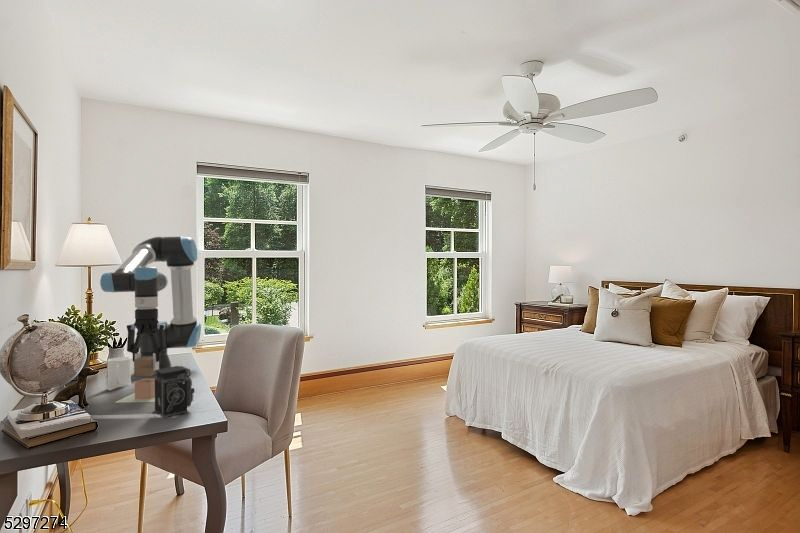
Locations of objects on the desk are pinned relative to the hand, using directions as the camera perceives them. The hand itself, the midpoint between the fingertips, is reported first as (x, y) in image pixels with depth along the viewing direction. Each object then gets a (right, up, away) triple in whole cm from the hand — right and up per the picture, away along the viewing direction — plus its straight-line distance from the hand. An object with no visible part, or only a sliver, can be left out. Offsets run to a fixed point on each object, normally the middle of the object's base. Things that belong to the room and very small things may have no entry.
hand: (147, 370), depth 169 cm
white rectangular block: (-21, -12, +17) cm, 29 cm away
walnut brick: (0, -1, 0) cm, 1 cm away
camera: (+18, -11, -16) cm, 27 cm away
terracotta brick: (0, -10, 0) cm, 10 cm away
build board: (0, -11, 0) cm, 11 cm away
